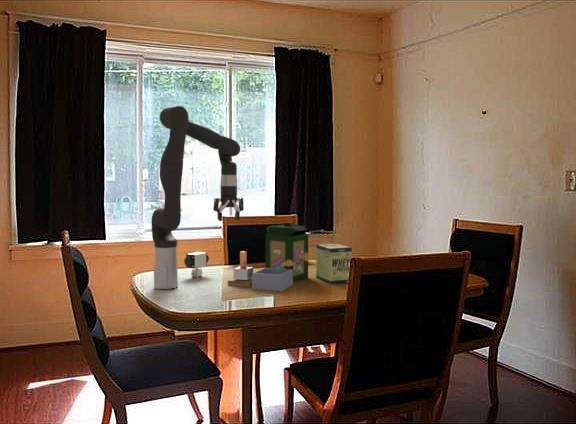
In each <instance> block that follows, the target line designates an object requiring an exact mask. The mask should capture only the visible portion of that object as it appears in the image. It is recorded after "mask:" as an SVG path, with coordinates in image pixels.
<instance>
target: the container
mask: <svg viewBox="0 0 576 424" xmlns="http://www.w3.org/2000/svg"><path fill="white" fill-rule="evenodd" d="M266 231H267V233H266V234H265V239H264V240H265V241H264V242H265V246H264V247H265V248H264V249H265V252H264V253H265V254H264V255H265V260H264V261H265V264H264V265H265V267H264V268H275V269H289V270H293V283H294V282H298V281H302V280H306V279H308V278H309V233H307V231H308V229H307V228H306V226H305V225H304V224H303V225H302V224H292V223H290V222H289V223H288V222H286V223H285V222H283V223H282V224H274V225H269V226H268V227H267V228H266Z"/></svg>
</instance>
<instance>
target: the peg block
mask: <svg viewBox="0 0 576 424" xmlns="http://www.w3.org/2000/svg"><path fill="white" fill-rule="evenodd" d="M247 256H248V255H247V251H245V250H243V251H242V250H241V251H239V266H236V267H234V268H233V272H232V273H233V275H232V276H233V278H232V279H239V280H249V279H251V278H252V273H253V272H254V266H247V261H248V260H247Z"/></svg>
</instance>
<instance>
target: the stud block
mask: <svg viewBox="0 0 576 424" xmlns="http://www.w3.org/2000/svg"><path fill="white" fill-rule="evenodd" d="M227 286H232V287H241V288H242V287H243V288H244V287H245V288H250V287H251V288H252V278H251V279H249V280H239V279H233V278H231V279H228V280H227Z"/></svg>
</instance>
